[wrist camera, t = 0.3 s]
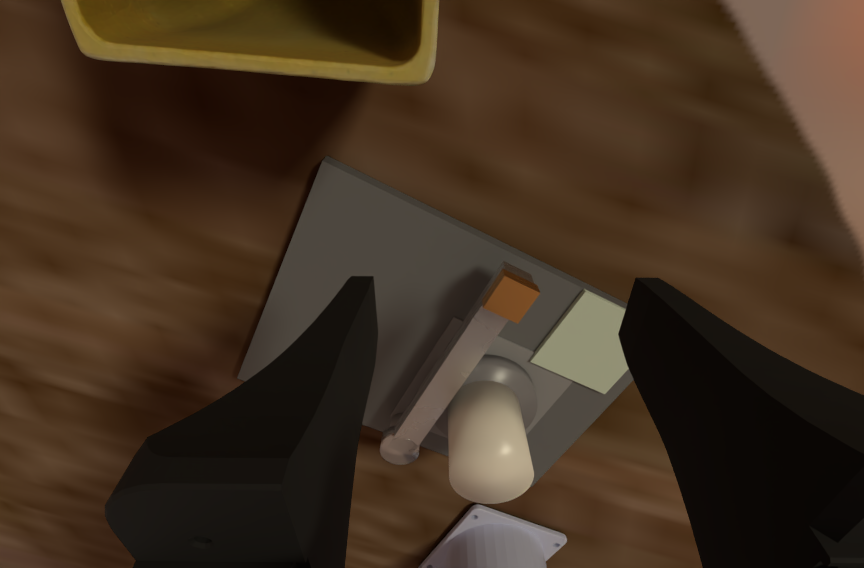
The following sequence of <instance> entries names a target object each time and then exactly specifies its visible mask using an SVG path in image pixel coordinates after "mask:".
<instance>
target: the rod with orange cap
mask: <svg viewBox="0 0 864 568" xmlns="http://www.w3.org/2000/svg"><path fill="white" fill-rule="evenodd" d="M539 294H540V291H539V288H538V285H536V284H534V281H533V278H532V275H531V274H530V273H528V272H526V271H523V270H521V269H519V268H517V267H515V266H513V265H511V264H509V263H507V262H505V261H503V262H502V263H501V265H500V266H499V268H498V269H497V271H496V272H495V274H494V275H493V277H492V278H491V280H490V281H489V283H488V284H487V286H486V287H485V289H484V290H483V292H482V293H481V295H480V297H479V298H478V300H477V301H476V303H475V304H474V306H473V307H472V309H471V310H470V312H469V313H468V315H467V316H466V318H465V319H464V321H463V322H462V324H461V325H460V327H459V328H458V330H457V332H456V333H455V335H454V336H453V338H452V339H451V341H450V342H449V344H448V345H447V347H446V348H445V350H444V351H443V353H442V354H441V356H440V357H439V359H438V360H437V362H436V363H435V365H434V367H433V368H432V370H431V371H430V373H429V374H428V376H427V377H426V379H425V380H424V382H423V383H422V385H421V386H420V388H419V389H418V391H417V392H416V394H415V395H414V397H413V398H412V400H411V402H410V403H409V405H408V406H407V408H406V409H405V411H404V412H403V414H402V415H401V417H400V418H399V420H398V421H397V423H396V424H395V425H394V426H391V427H389V428H387V429H386V430H385V431H384V432H383V434H382V439H381V446H380V454H381V456H382V457H383V458H384V459H385V460H386V461H388V462H390V463H392V464H397V465H404V464H409V463H411V462H413V461H414V460H416V459H417V457H418V455H419V446H420V443H421V442H422V440H423V439H424V438H425V436H426V435H427V433H428V432H429V431H430V429H431V428H432V426H433V425H434V424H435V422H436V421H437V419H438V418H439V417H440V415H441V414H442V412H443V411H444V410H445V408H446V407H447V406H448V404H449V403H450V401H451V400H452V399H453V397H454V396H455V394H456V393H457V392H458V390H459V389H460V387H461V386H462V385H463V383H464V382H465V380H466V379H467V378H468V376H469V375H470V373H471V372H472V371H473V369H474V368H475V366H476V365H477V364H478V362H479V361H480V359H481V358H482V357H483V355H484V354H485V352H486V351H487V350H488V348H489V347H490V345H491V344H492V343H493V341H494V340H495V338H496V337H497V336H498V334H499V333H500V331H501V330H502V329H503V327H504V326H505V324H506V323H507V322H508V320H511V321H513V322H515V323H517V324H518V323H519V322H520V320H521V319H522V318H523V316H524V315H525V313H526V312H527V311H528V309H529V308H530V307H531V305H532V304H533V303H534V301H535V300H536V298H537V297H538V296H539Z"/></svg>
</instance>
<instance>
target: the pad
mask: <svg viewBox="0 0 864 568" xmlns="http://www.w3.org/2000/svg"><path fill="white" fill-rule="evenodd" d="M625 310H626V309H625V308H622V307H620V306H618V305H616V304H614V303H612V302H610V301H608V300H606V299H604V298H602V297H600V296H598V295H596V294H594V293H592V292H590V291H588V290H586V289H583V291H582V292H581V293H580V294H579V296H578V297H577V298H576V300H575V301H574V302H573V303H572V305H571V306H570V307H569V309H568V310H567V311H566V312H565V314H564V315H563V316H562V317H561V319H560V320H559V321H558V323H557V324H556V325H555V326H554V328H553V329H552V330H551V332H550V333H549V334H548V335H547V337H546V338H545V339H544V341H543V342H542V343H541V344H540V346H539V347H538V348H537V350H536V351H535V354H534V355H533V356H532V357H531V359H530V362H532V363H534V364H536V365H539V366H541V367H543V368H546V369H548V370H550V371H552V372H555V373H557V374H559V375H562V376H564V377H566V378H568V379H571V380H573V381H575V382H578V383H580V384H582V385H585V386H587V387H589V388H591V389H594V390H596V391H598V392H601V393H603V394H606V393H607V391H608V390H609V389H610V388H611V387H612V386H613V385H614V384H615V383H616V382H617V381H618V380H619V379H620V377H621V376H622V375H623V374H624V373H625V372H626V371H627V370H628V369H629V368H628V366H627V363H626V360H625V357H624V353H623V350H622V347H621V343H620V340H619V336H618V333H619V330H620V326H621V323H622V320H623V317H624V314H625Z"/></svg>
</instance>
